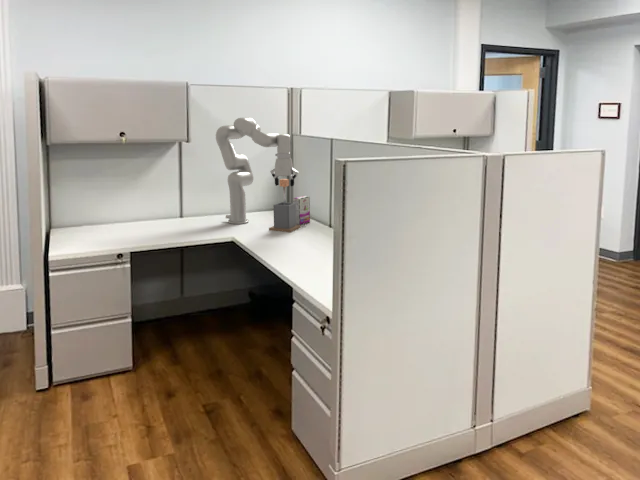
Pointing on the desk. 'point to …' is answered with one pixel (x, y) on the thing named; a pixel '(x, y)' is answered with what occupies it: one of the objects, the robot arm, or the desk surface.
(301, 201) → the candy bar box
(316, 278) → the desk surface
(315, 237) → the desk surface
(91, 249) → the desk surface
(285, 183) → the plunger
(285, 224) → the press housing
